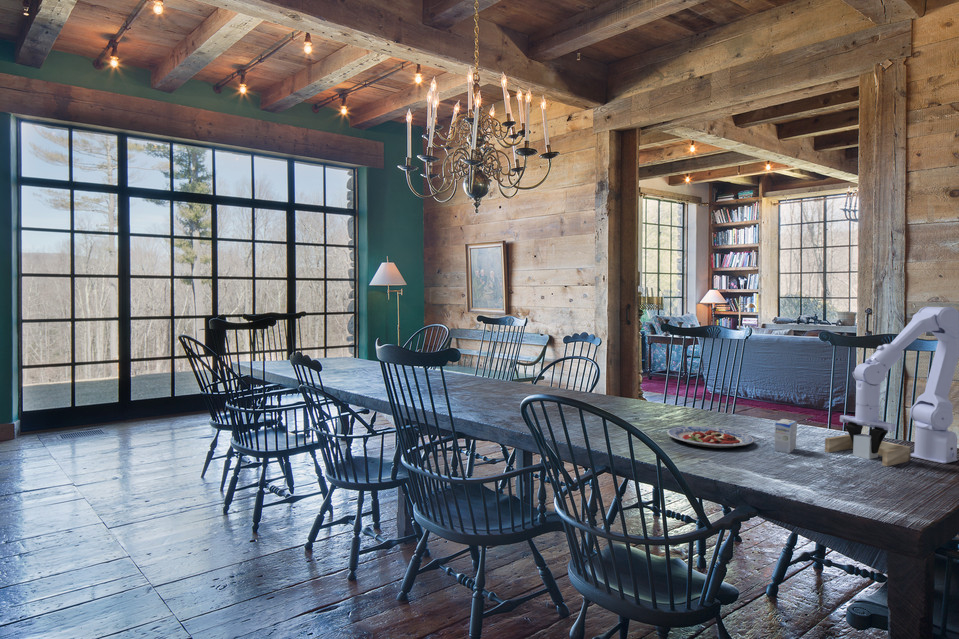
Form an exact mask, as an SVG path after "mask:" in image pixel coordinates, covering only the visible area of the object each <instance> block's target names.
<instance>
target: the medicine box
mask: <svg viewBox="0 0 959 639" xmlns="http://www.w3.org/2000/svg"><path fill="white" fill-rule="evenodd" d="M774 424H775V425H774V444H773V445H774V447H773V450H774V452H778V451H779V453H785V454H790V453H792V451H794V450H795V449H796V447H797V430H798V421H797V420H792V419H786V418H781V419H779V420H778V421H776V422H775V423H774Z"/></svg>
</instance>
